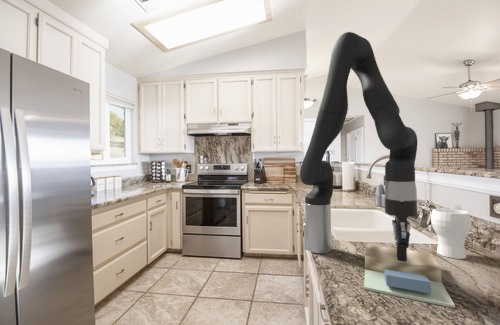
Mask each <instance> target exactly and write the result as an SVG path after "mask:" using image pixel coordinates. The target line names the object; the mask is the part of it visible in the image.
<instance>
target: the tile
mask: <svg viewBox="0 0 500 325" xmlns="http://www.w3.org/2000/svg"><path fill="white" fill-rule="evenodd" d="M384 272H385V282H386V285H387V286H392V287H397V288H403V289H408V290H414V291H419V292H425V293H430V294H431V282H430V281H429V280H428V279H427V277H426V276H425V275H418V274H412V273H405V272H399V271H392V270H386V269H384Z"/></svg>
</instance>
